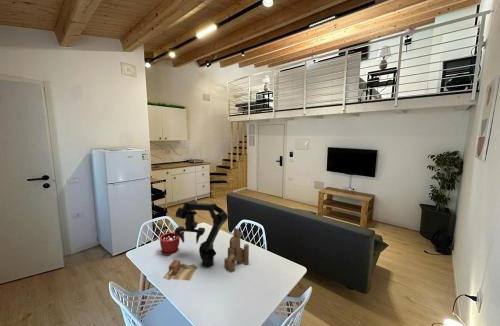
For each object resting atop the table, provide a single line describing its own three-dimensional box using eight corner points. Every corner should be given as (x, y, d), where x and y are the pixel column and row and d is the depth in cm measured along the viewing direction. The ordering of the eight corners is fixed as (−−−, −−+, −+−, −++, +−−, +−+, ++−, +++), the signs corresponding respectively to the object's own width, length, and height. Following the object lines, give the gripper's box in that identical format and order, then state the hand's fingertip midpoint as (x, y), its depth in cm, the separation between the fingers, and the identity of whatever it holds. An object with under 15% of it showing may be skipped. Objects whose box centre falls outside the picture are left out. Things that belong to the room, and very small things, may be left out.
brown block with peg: (180, 268, 137) (180, 260, 136) (172, 279, 126) (172, 270, 125) (174, 268, 137) (174, 259, 137) (165, 279, 126) (165, 270, 126)
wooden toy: (230, 273, 135) (230, 233, 132) (224, 268, 140) (224, 230, 137) (249, 263, 145) (250, 227, 142) (243, 259, 150) (243, 224, 147)
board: (197, 268, 139) (197, 263, 139) (189, 282, 126) (189, 276, 125) (173, 266, 141) (173, 261, 140) (162, 280, 127) (162, 274, 127)
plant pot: (156, 254, 156) (155, 237, 154) (170, 246, 167) (170, 230, 166) (169, 259, 150) (169, 242, 148) (183, 250, 161) (183, 234, 160)
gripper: (207, 216, 153) (207, 238, 154) (181, 215, 154) (181, 236, 156) (202, 222, 142) (202, 246, 143) (174, 221, 143) (174, 244, 145)
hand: (190, 242), depth 147 cm, fingers open, 9 cm apart
